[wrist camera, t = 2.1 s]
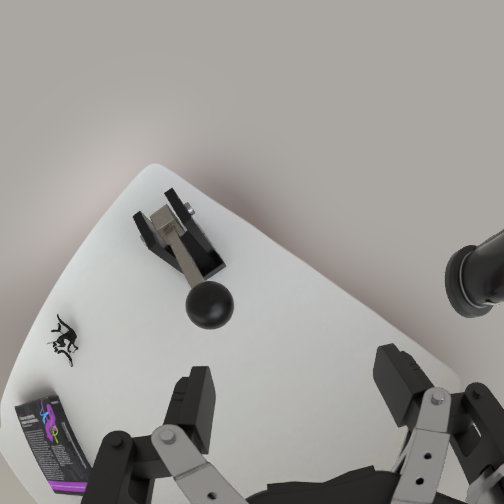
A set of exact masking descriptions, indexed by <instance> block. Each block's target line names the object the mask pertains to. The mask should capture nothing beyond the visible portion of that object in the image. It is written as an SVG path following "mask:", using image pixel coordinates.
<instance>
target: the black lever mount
mask: <svg viewBox="0 0 504 504" xmlns="http://www.w3.org/2000/svg"><path fill="white" fill-rule="evenodd" d="M164 194H165V196H166V197H167V199H168V201H169V202H170V204H171V205H172V207H173V209H174V210H175V212H176V214H177V215H178V217H179V218H180V220H181V222H182V223H183V225H184V226H185V227H186V228H187V230H188V231H186V232H185V234H183V235H182V236H181V239H182V240H183V242H184V244H185V246H186V248H187V250H188V252H189V253H190V255H191V257H192V259H193V261H194V262H195V264H196V266H197V268H198V270H199V271H200V273H201V275H202V277H203V278H204V280H205V281H206V280H207V279H209V278H210V277H211V276H213V275H214V274H216V273H217V272H219V271H220V270H221V269H223V268H224V267H226V264H225V263H224V262H223V260H222V259H221V257H220V256H219V254H218V253H217V251H216V250H215V248H214V247H213V245H212V244H211V242H210V241H209V239H208V238H207V236H206V235H205V233H204V232H203V230H202V229H201V227H200V226H199V225H198V224H197V222H196V221H195V219H194V218H193V217H192V215H193V214H195V212H194V211H193V209H192V208H191V206H190V205H189V203H188V202H187V203H185V204H183V202H182V201H181V199H180V198H179V197H178V195H177V194H176V192H175V191H174V189H173V188H171V189H169V190H168V191H166V192H165V193H164ZM133 219H134V221H135V223H136V225H137V227H138V229H139V231H140V233H141V236H140V237H141V240H142V241H143V243H144V244H145V245H146V246H147V247H148V249H149V250H151V251H152V252H153V253H155V254H156V255H157V256H159V257H160V258H162V259H163V260H164V261H166V262H167V263H169V264H170V265H171V266H173V267H174V268H176V269H177V270H178V271H180V272H181V273H183V271H182V269H181V267H180V265H179V263H178V261H177V259H176V257H175V254H174V252H173V250H172V248H171V246H170V244H169V245H167V243H166V242H165V241H164V240H163V239H162V238H161V237H160V235H159V234H158V233H157V232H156V230H155V228H154V225H153V223H152V222H151V221H150V220H149V219H148V218H147V217H146V216H145V215H144V214H143V213H142V212H141V211H139V212H137V213H136V214H135V215H134V216H133ZM183 274H184V273H183Z"/></svg>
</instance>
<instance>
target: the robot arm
mask: <svg viewBox="0 0 504 504" xmlns="http://www.w3.org/2000/svg"><path fill="white" fill-rule="evenodd" d="M458 280H459V286H460V290H461V293H462V295H463V297H464V299H465V300H466V302H467V303H468V304H469V305H471V306H472V307H474V308H483V307H486V306H488V305H494V306H496V305H499V304H496V303H499V302H503V301H504V229H503V230H502V231H500V232H499V233H497V234H496V235H493V236H492V237H490V238H489V239H488V240H486V241H485V242H483V243H482V244H480V245H479V246H477V247H475V248H474V249H473V251H472V252H470V253H468V254H467V255H465V256H464V258H463V259H462V261H461V263H460V266H459V272H458ZM373 378H374V381H375V383H376V385H377V387H378V389H379V391H380V393H381V395H382V396H383V398H384V400H385V402H386V404H387V406H388V408H389V410H390V412H391V414H392V416H393V418H394V420H395V422H396V424H397V426H398V428H399V427H402V426H405V425H407V427H408V430H407V432H406V435H405V438H404V441H403V444H402V447H401V449H400V452H399V455H398V457H397V460H396V462H395V464H394V466H393V468H392V470H391V472H390V471H375V469H374V466H373V465H372V466H368V467H365V468H361V469H357V470H353V471H349V472H347V473H345V474H343V475H340V476H338V477H336V478H334V479H331V480H329V481H326V482H323V483H313V482H295V481H294V482H285V483H274V484H267V490H264V491H261V492H258V493H256V494H254V495H252V496H250V497H248V498H246V499H244V498H243V497H242V496H241V495H240V494H239V493H238V492H237V491H236V490H235V489H234V488H233V487H232V486H231V485H230V484H229V483H228V482H227V480H226V479H225V478H224V477H223V476H222V475H221V474H220V473H219V472H218V470H217V469H216V468H215V467H214V466H213V465H212V464H211V463H210V462H207V460H206V459H205V458H204V457H203V456H202V454H208V452H209V445H210V437H211V429H212V422H213V415H214V408H215V400H216V395H215V388H214V384H213V380H212V376H211V372H210V368H209V366H193V367H192V369H191V373H190V376H189V377H182V378H181V379H180V380H179V381H178V382H177V383H176V385H175V388H174V391H173V394H172V397H171V401H170V404H169V407H168V410H167V413H166V417H165V420H164V423H163V425H162V426H160V427H158V428H157V429H155V430H154V432H153V433H152V435H148V436H142V437H133V438H131V436H130V435H129V434H128V433H126V432H124V431H113V432H110V433H108V434H107V435H106V436H105V437H104V438H103V440H102V443H101V446H100V448H99V451H98V454H97V457H96V459H95V462H94V465H93V468H92V470H91V473H90V476H89V479H88V482H87V485H86V488H85V491H84V494H83V498H82V501H81V504H151V500H152V494H153V488H154V482H155V479H156V478H164V477H171V476H173V478H174V480H175V482H176V483H177V485H178V486H179V488H180V489H181V490H182V492H183V493H184V495H185V496H186V497H187V499H188V500H189V501H190V503H191V504H504V409H503V408H502V406H501V405H500V404H499V402H498V401H497V399H496V398H495V397H494V395H493V394H492V393H491V391H490V390H489V389H488V388H487V387H486V386H485V385H484V384H482V383H478V382H477V383H472V384H469V385H468V386H467V388H466V390H465V392H463V393H455V394H450V393H449V392H448V391H447V390H446V389H444V388H440V387H434V385H433V384H432V383H431V381H430V380H429V379H428V377H427V376H426V375H425V373H424V372H423V371H422V369H420V367H419V365H418V364H416V361H415V360H414V359H413V357H412V356H411V355H409V354H408V353H406V352H404V351H401V352H400V351H399V350H398V348H397V347H396V346H395V344H393V343H392V344H387V345H383V346H379V347H378V349H377V353H376V358H375V363H374V368H373ZM473 423H475V425H476V427H477V428H478V430H479V432H480V434H481V437H480V436H479V434H478V432H477V430H476V429H475V427H474V425H473ZM449 442H450V444H451V446H452V448H453V450H454V452H455V454H456V456H457V458H458V460H459V463H460V465H461V467H462V469H463V471H464V473H465V476H466V478H467V480H468V483H469V485H470V486H469V488H468V491H467V497H466V502H467V503H465V502H462V501H460V500H457V499H454V498H451V497H449V496H446V495H444V494H441V493H439V492H437V488H438V485H439V481H440V478H441V474H442V470H443V467H444V463H445V458H446V454H447V449H448V444H449Z"/></svg>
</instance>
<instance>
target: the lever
mask: <svg viewBox="0 0 504 504" xmlns="http://www.w3.org/2000/svg"><path fill="white" fill-rule="evenodd" d="M150 218H151V221H152V223H153V225H154V228H155V230H156V232H157V233H158V234H159V235H160V237H161V238H162V239H163V240H164V241H165V242H166V243H167V245H169V244H170V246H171V248H172V250H173V252H174V254H175V257H176V259H177V261H178V263H179V265H180V267H181V269H182V271H183V273H184V275H185V277H186V279H187V281H188V283H189V285H190V287H191V291H190V292H189V294H188V296H187V299H186V312H187V314H188V316H189V318H190V320H191V321H192V322H193V323H194V324H195V325H197V326H198V327H201V328H203V329H217V328H220V327H222V326H224V325H225V324H226V323H227V322H228V321H229V320H230V318H231V317H232V314H233V311H234V301H233V297H232V295H231V293H230V292H229V290H228V289H227V288H226V287H225V286H223V285H222V284H220V283H217V282H213V281H206V282H205V280H204V278H203V277H202V275H201V273H200V271H199V270H198V268H197V266H196V264H195V262H194V261H193V259H192V257H191V255H190V253H189V252H188V250H187V248H186V246H185V244H184V242H183V240H182V239H181V236H182V235H183V234H185V231H184V229H183V227H182V226H181V224H180V222H179V220H178V218H177V217H176V216H175V214H174V213H173V212H172V210H171V209H170V208H169V206H168V205H167V204H166V205H165V206H163V207H162V208H161V209H159V210H158V211H156V212H155V213H154V214H152V215H151V216H150Z"/></svg>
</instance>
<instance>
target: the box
mask: <svg viewBox="0 0 504 504" xmlns="http://www.w3.org/2000/svg"><path fill="white" fill-rule="evenodd" d="M15 410H16V413H17V416H18V419H19V422H20V424H21V427H22V429H23V432H24V434H25V437H26V439H27V441H28V444H29V446H30V448H31V450H32V452H33V454H34V456H35V459H36V460H37V463H38V465H39V466H40V468H41V470H42V472H43V474H44V476H45V477H46V479H47V481H48V483H49V484H50V486H51V488H52V489H53V491H54V493H56V494H66V495H78V496H83V494H84V491H85V488H86V485H87V482H88V479H89V476H90V473H91V470H92V468H91V467H90V465H89V463H88V461H87V459H86V458H85V456H84V454H83V452H82V450H81V448H80V446H79V444H78V442H77V440H76V438H75V436H74V434H73V432H72V429H71V427H70V425H69V423H68V421H67V418H66V416H65V413H64V411H63V408H62V406H61V403H60V401H59V398H58V396H47V397H45V398H42V399H38V400H35V401H32V402H29V403H26V404H22V405H19V406H15Z"/></svg>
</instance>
